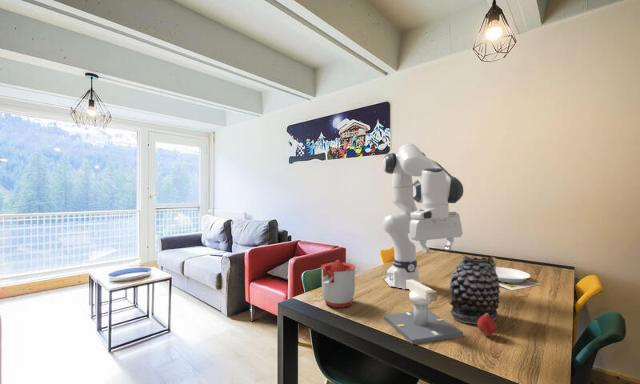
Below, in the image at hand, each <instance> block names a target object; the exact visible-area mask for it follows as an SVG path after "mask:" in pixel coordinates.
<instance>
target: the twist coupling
mask: <svg viewBox="0 0 640 384" xmlns="http://www.w3.org/2000/svg"><path fill="white" fill-rule="evenodd" d="M406 288H407V289H409V290H408V291H409V292H408V293H409V294H408V295H409V297H408V300H409V302H410V303H412V304H414V303H415V304H419V305H428V306H429V305H431V304H432V303H433V302H438V297H437V296H438V291H436V290H434V289H432V288H431V287H429V286H427V285H425V284H423V283H422V282H421V283H419V282H417V281H415V280H413V279H411V280H406Z"/></svg>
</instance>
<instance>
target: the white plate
mask: <svg viewBox="0 0 640 384" xmlns="http://www.w3.org/2000/svg"><path fill="white" fill-rule="evenodd" d="M496 274H497V275H498V276H501V277H503V278H501V277H498V279H499V281H501V282H500V283H504V282H508V283H507V284H520V283H523V282H524V281H525V280H526V281H527V279H529V278H530V277H531V274H530V273H528V272H527V271H523V270H520V269H515V268H509V267H503V266H496Z"/></svg>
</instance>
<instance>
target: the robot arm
mask: <svg viewBox="0 0 640 384" xmlns="http://www.w3.org/2000/svg"><path fill="white" fill-rule="evenodd" d="M382 168H383V171H384V172H385V173H386V174H389V175H392V177H391V190H392V193H391V195H392V203H393V204H394V205H395V206H396V207H398V209H399V211H400V213H391V214H389V215H386V216H385V217H384V218H383V221H382V228H383V230H384V231H385V232H386V233H387V234H388V235H389V236H390V237H391V239H392V243H393V251H394V258H393V259H392V265H391V266H390V267H389V268H388V269H386V270H387V271H386V272H385V274H386V276H385V277H387V278H386V279H385V281H386V282H387V283H388V285H389V286H393V287H398V288H402V289H401V290H405V289H407V288H406V280H411V279H413V280H415V281H417V282H419V283H421V284H422V282H421V281H420V273H419V269H418V268H417V267H418V261H417V251H416V249H417V246H416V244H415V243H414V242H413V241H416V242H418V241H419V244H420V246H421V247H422V253H424V254H429V253H430V247H428V246H427V241H430V240H442V239H446V244H444V251H452V249H453V248H452V246H453V243H454V241H455V238H462V236H463V227H462V221H461V216H460V214H459V213H457V211H450V209H449V208H450V207H449V204H456V203H457V202H458V201H459V200H460V199H462V198H463V196H464V186H463V184H462V182H461V180H460V179H458V178H457V177H455V176H453V175H452V174H450V172H448V171H447V170H446V169H445V168H444V167H443V166H442V165H441V164H439V163H438V162H437V161H435V160H433V159H431V158H429V157H427V156H426V153H424V152H423V151H421V149H420V148H419V147H418V146H416V145H415V144H413V143H410V142H409V143H408V142H407V143H404V144H402V145H401V146H400V147H399V148H398V151H397V152H392V153H388V154H385V156H383V159H382ZM413 177H420V178H419V179H417V180H415V181H414V183H413ZM416 202H417V204H418V203H419V204H421V208H419V209H418V207H417V205H416ZM410 239H411V240H410ZM388 285H387V286H388ZM389 286H388V287H389ZM398 288H397V289H398Z"/></svg>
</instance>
